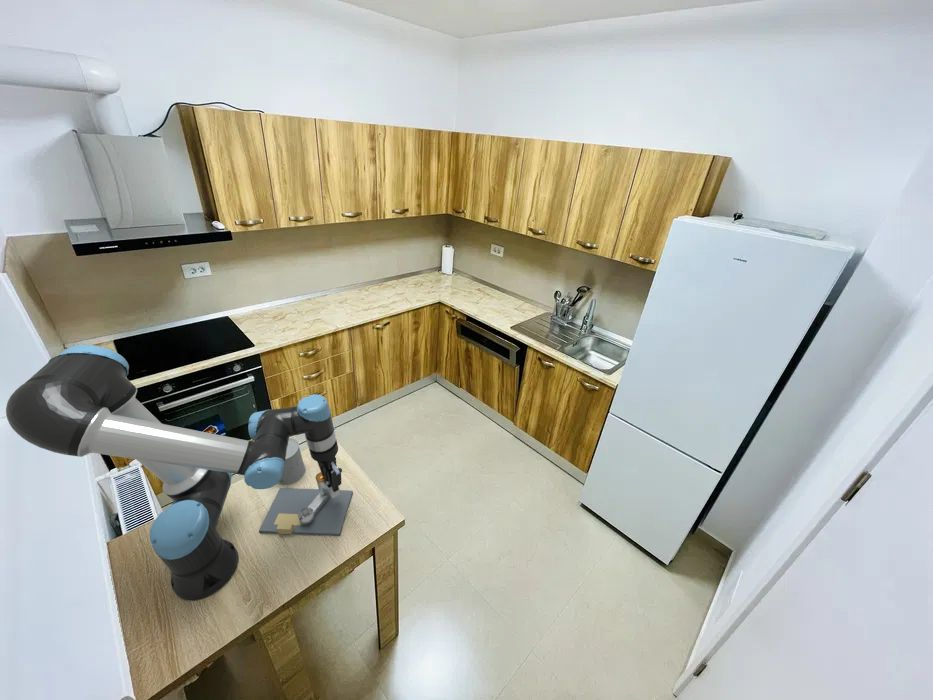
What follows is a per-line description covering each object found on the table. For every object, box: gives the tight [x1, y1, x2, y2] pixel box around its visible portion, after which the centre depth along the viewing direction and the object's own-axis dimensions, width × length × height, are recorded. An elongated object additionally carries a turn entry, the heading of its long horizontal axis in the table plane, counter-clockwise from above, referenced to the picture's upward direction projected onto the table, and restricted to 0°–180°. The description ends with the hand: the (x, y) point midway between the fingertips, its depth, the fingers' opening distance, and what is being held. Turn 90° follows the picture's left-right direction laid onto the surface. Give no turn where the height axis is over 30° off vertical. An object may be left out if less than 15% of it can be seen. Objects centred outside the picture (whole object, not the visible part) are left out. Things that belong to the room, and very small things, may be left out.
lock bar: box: [298, 471, 331, 526], centre depth 114 cm, size 13×4×10 cm, turn 161°
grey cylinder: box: [277, 437, 306, 486], centre depth 126 cm, size 10×10×12 cm
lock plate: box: [258, 487, 354, 537], centre depth 116 cm, size 24×16×5 cm, turn 90°
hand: (335, 494), depth 117 cm, fingers closed
